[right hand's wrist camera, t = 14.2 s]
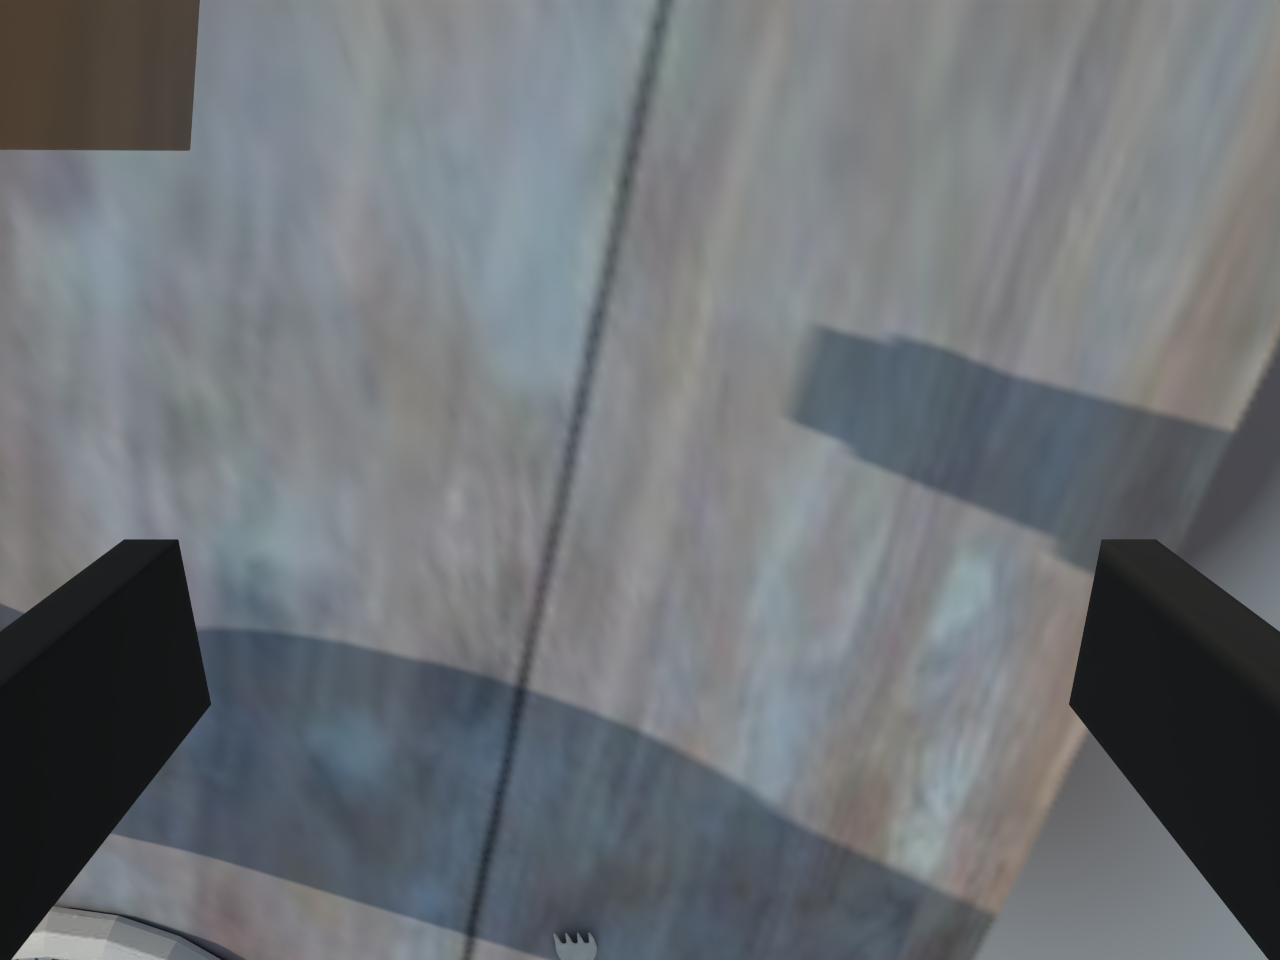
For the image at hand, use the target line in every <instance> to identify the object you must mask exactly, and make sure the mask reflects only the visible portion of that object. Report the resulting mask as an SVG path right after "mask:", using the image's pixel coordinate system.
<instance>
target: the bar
mask: <svg viewBox="0 0 1280 960" xmlns="http://www.w3.org/2000/svg"><path fill="white" fill-rule="evenodd" d="M199 3H200V0H0V150H170V151H188V150H190V143H191V127H192V112H193V96H194V81H195V65H196V50H197V34H198V19H199Z"/></svg>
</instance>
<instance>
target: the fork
mask: <svg viewBox="0 0 1280 960" xmlns="http://www.w3.org/2000/svg"><path fill="white" fill-rule="evenodd" d="M588 935H589V942H588V943H585V942H584V941H583V939H582V937H581V936H580V934H579V933H578V932H577V939H578V942H577V943H573V942H572V940H571V938H570V937H569V936H568V934H567V933H565V936H566V943H562V942H561V941H560V939H559V938H558V936H557V935H556V934H555V933H553V936H554V939H555V946H556V952H557V954H558V956H559V958H560V960H594V959H595V956H596V953H597V945H596V943H595V941H594V938H593V936H592V935H591V933H590V932H589V933H588Z"/></svg>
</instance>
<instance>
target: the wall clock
mask: <svg viewBox="0 0 1280 960" xmlns="http://www.w3.org/2000/svg"><path fill="white" fill-rule="evenodd" d="M11 960H221V959H219V958H217V957H215V956H214V955H212V954H210V953H208V952H207V951H205V950H203V949H201V948H200V947H198V946H196V945H194V944H193V943H191V942H189V941H187V940H185V939H184V938H182V937H180V936H177V935H174V934H171V933H168V932H166V931H163V930H160V929H157V928H154V927H151V926H148V925H145V924H142V923H139V922H136V921H133V920H130V919H127V918H124V917H121V916H118V915H111V914H104V913H96V912H89V911H82V910H75V909H68V908H61V907H52V908H51V910H50V911H49V912H48V913H47V915H46V916H45V917H44V919H43V920H42V921H41V922H40V924H39V925H38V926H37V928H36V929H35V930H34V931H33V933H32V934H31V935H30V936H29V938H28V939H27V940H26V942H25V943H24V944H23V945H22V947H21V948H20V949H19V951H18V952H17V953H16V954H15V956H14V957H13V958H12V959H11Z"/></svg>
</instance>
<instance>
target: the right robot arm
mask: <svg viewBox="0 0 1280 960" xmlns="http://www.w3.org/2000/svg"><path fill="white" fill-rule="evenodd" d="M210 705H211V702H210V697H209V692H208V687H207V682H206V677H205V672H204V667H203V662H202V657H201V652H200V647H199V642H198V637H197V632H196V627H195V622H194V617H193V612H192V607H191V602H190V597H189V592H188V586H187V581H186V576H185V571H184V566H183V561H182V556H181V551H180V546H179V541H178V540H123V541H122V542H120V543H119V544H118V545H116V546H115V547H114V548H112V549H111V550H110V551H108V552H107V553H106V554H104V555H103V556H101V557H100V558H99V559H97V560H96V561H95V562H93V563H92V564H91V565H89V566H88V567H87V568H85V569H84V570H83V571H81V572H80V573H79V574H77V575H76V576H75V577H73V578H72V579H71V580H69V581H68V582H67V583H65V584H64V585H63V586H61V587H60V588H58V589H57V590H56V591H54V592H53V593H52V594H50V595H49V596H48V597H46V598H45V599H44V600H42V601H41V602H40V603H38V604H37V605H36V606H34V607H33V608H32V609H30V610H29V611H28V612H26V613H25V614H24V615H22V616H21V617H20V618H18V619H17V620H15V621H14V622H13V623H11V624H10V625H9V626H7V627H6V628H5V629H3V630H2V631H1V632H0V960H11V959H12V958H13V957H14V956H15V954H16V953H17V952H18V951H19V949H20V948H21V947H22V945H23V944H24V943H25V942H26V940H27V939H28V938H29V936H30V935H31V934H32V933H33V931H34V930H35V929H36V928H37V926H38V925H39V924H40V922H41V921H42V920H43V919H44V917H45V916H46V915H47V913H48V912H49V911H50V910H51V908H52V907H53V906H54V904H55V903H56V902H57V901H58V899H59V898H60V897H61V896H62V894H63V893H64V892H65V890H66V889H67V888H68V887H69V885H70V884H71V883H72V881H73V880H74V879H75V878H76V876H77V875H78V874H79V873H80V871H81V870H82V869H83V867H84V866H85V865H86V864H87V862H88V861H89V860H90V858H91V857H92V856H93V855H94V853H95V852H96V851H97V850H98V848H99V847H100V846H101V844H102V843H103V842H104V841H105V839H106V838H107V837H108V835H109V834H110V833H111V832H112V830H113V829H114V828H115V826H116V825H117V824H118V823H119V821H120V820H121V819H122V818H123V816H124V815H125V814H126V812H127V811H128V810H129V809H130V807H131V806H132V805H133V803H134V802H135V801H136V800H137V798H138V797H139V796H140V795H141V793H142V792H143V791H144V789H145V788H146V787H147V786H148V784H149V783H150V782H151V780H152V779H153V778H154V777H155V775H156V774H157V773H158V772H159V770H160V769H161V768H162V766H163V765H164V764H165V763H166V761H167V760H168V759H169V757H170V756H171V755H172V754H173V752H174V751H175V750H176V748H177V747H178V746H179V745H180V743H181V742H182V741H183V740H184V738H185V737H186V736H187V734H188V733H189V732H190V731H191V729H192V728H193V727H194V725H195V724H196V723H197V722H198V720H199V719H200V718H201V717H202V715H203V714H204V713H205V711H206V710H207V709H208V708H209V706H210ZM1069 705H1070V706H1071V708H1072V709H1073V710H1074V711H1075V713H1076V714H1077V715H1078V717H1079V718H1080V719H1081V720H1082V722H1083V723H1084V724H1085V725H1086V727H1087V728H1088V729H1089V731H1090V732H1091V733H1092V734H1093V736H1094V737H1095V738H1096V739H1097V741H1098V742H1099V743H1100V745H1101V746H1102V747H1103V748H1104V750H1105V751H1106V752H1107V754H1108V755H1109V756H1110V757H1111V759H1112V760H1113V761H1114V763H1115V764H1116V765H1117V766H1118V768H1119V769H1120V770H1121V772H1122V773H1123V774H1124V775H1125V777H1126V778H1127V779H1128V780H1129V782H1130V783H1131V784H1132V786H1133V787H1134V788H1135V789H1136V791H1137V792H1138V793H1139V794H1140V796H1141V797H1142V798H1143V800H1144V801H1145V802H1146V803H1147V805H1148V806H1149V807H1150V809H1151V810H1152V811H1153V812H1154V814H1155V815H1156V816H1157V818H1158V819H1159V820H1160V821H1161V823H1162V824H1163V825H1164V826H1165V828H1166V829H1167V830H1168V832H1169V833H1170V834H1171V835H1172V837H1173V838H1174V839H1175V841H1176V842H1177V843H1178V844H1179V846H1180V847H1181V848H1182V849H1183V851H1184V852H1185V853H1186V855H1187V856H1188V857H1189V858H1190V860H1191V861H1192V862H1193V863H1194V865H1195V866H1196V867H1197V869H1198V870H1199V871H1200V873H1201V874H1202V875H1203V876H1204V878H1205V879H1206V880H1207V881H1208V883H1209V884H1210V885H1211V887H1212V888H1213V889H1214V890H1215V892H1216V893H1217V894H1218V896H1219V897H1220V898H1221V899H1222V901H1223V902H1224V903H1225V904H1226V906H1227V907H1228V908H1229V910H1230V911H1231V912H1232V913H1233V915H1234V916H1235V917H1236V919H1237V920H1238V921H1239V922H1240V924H1241V925H1242V926H1243V928H1244V929H1245V930H1246V931H1247V933H1248V934H1249V935H1250V936H1251V938H1252V939H1253V940H1254V942H1255V943H1256V944H1257V945H1258V947H1259V948H1260V949H1261V951H1262V952H1263V953H1264V954H1265V956H1266V957H1267V958H1268V959H1269V960H1280V632H1279V631H1278V630H1277V629H1275V628H1274V627H1273V626H1271V625H1270V624H1269V623H1267V622H1266V621H1265V620H1263V619H1262V618H1260V617H1259V616H1258V615H1256V614H1255V613H1254V612H1252V611H1251V610H1250V609H1248V608H1247V607H1246V606H1244V605H1243V604H1242V603H1240V602H1239V601H1238V600H1236V599H1235V598H1234V597H1232V596H1231V595H1230V594H1228V593H1227V592H1226V591H1224V590H1223V589H1221V588H1220V587H1219V586H1217V585H1216V584H1215V583H1213V582H1212V581H1211V580H1209V579H1208V578H1207V577H1205V576H1204V575H1203V574H1201V573H1200V572H1199V571H1197V570H1196V569H1195V568H1193V567H1192V566H1191V565H1189V564H1188V563H1187V562H1185V561H1184V560H1183V559H1181V558H1180V557H1179V556H1177V555H1176V554H1174V553H1173V552H1172V551H1170V550H1169V549H1168V548H1166V547H1165V546H1164V545H1162V544H1161V543H1160V542H1158V541H1157V540H1102V541H1101V546H1100V551H1099V556H1098V561H1097V566H1096V571H1095V576H1094V581H1093V586H1092V592H1091V597H1090V602H1089V607H1088V612H1087V617H1086V622H1085V627H1084V632H1083V637H1082V642H1081V647H1080V652H1079V657H1078V662H1077V667H1076V672H1075V677H1074V682H1073V687H1072V692H1071V697H1070V702H1069Z"/></svg>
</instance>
